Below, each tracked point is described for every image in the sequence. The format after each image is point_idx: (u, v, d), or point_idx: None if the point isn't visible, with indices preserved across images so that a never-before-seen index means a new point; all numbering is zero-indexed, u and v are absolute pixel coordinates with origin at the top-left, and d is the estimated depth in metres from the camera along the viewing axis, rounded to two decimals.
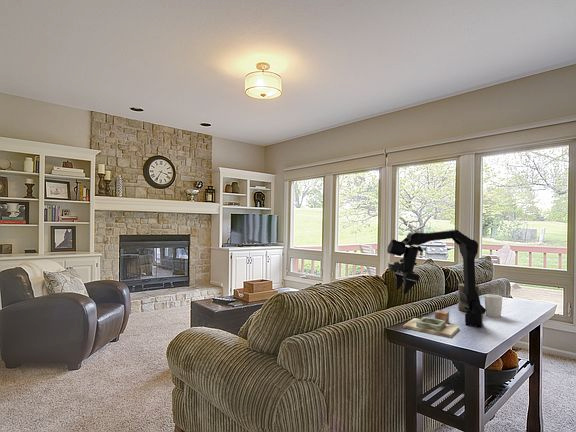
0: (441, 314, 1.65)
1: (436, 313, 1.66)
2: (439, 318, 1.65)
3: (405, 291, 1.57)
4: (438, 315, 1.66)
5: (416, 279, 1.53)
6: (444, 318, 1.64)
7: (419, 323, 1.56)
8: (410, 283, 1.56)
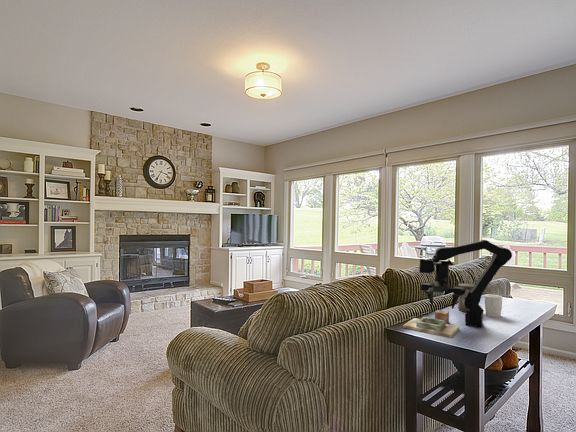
0: (441, 314, 1.65)
1: (436, 313, 1.66)
2: (439, 318, 1.65)
3: (453, 306, 1.64)
4: (438, 315, 1.66)
5: (464, 292, 1.62)
6: (444, 318, 1.64)
7: (419, 323, 1.56)
8: None
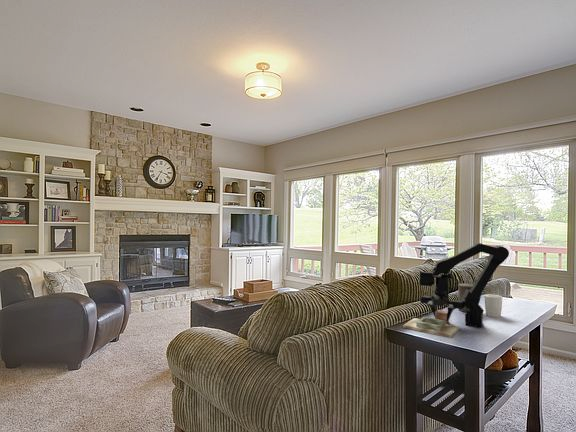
0: (441, 314, 1.65)
1: (436, 313, 1.66)
2: (439, 318, 1.65)
3: (449, 318, 1.65)
4: (438, 315, 1.66)
5: (464, 305, 1.63)
6: (444, 318, 1.64)
7: (419, 323, 1.56)
8: (451, 309, 1.65)
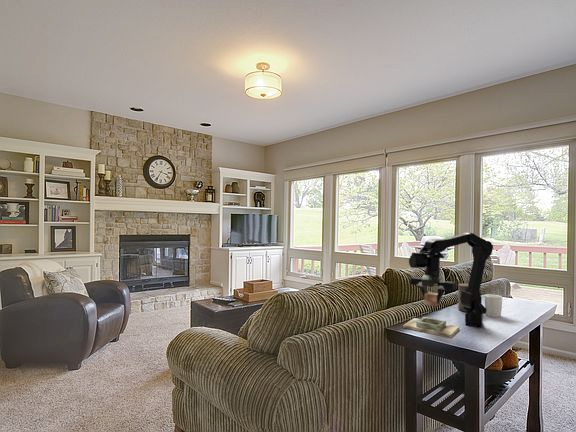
0: (431, 295, 1.57)
1: (426, 295, 1.58)
2: (429, 300, 1.57)
3: (439, 300, 1.57)
4: (428, 297, 1.58)
5: (455, 287, 1.54)
6: (434, 300, 1.56)
7: (419, 323, 1.56)
8: (442, 291, 1.57)
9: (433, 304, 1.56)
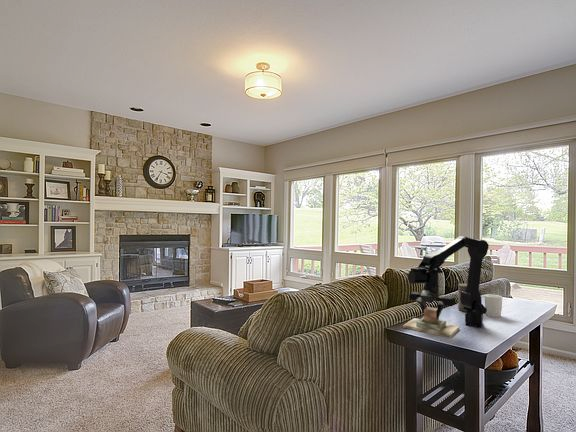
0: (430, 311, 1.55)
1: (425, 310, 1.57)
2: (428, 315, 1.56)
3: (438, 316, 1.56)
4: (427, 312, 1.56)
5: (454, 302, 1.53)
6: (434, 315, 1.55)
7: (419, 323, 1.56)
8: (441, 306, 1.56)
9: (433, 320, 1.55)
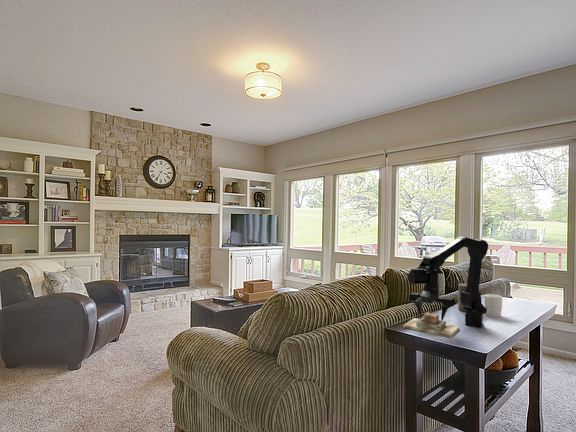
0: (430, 317, 1.55)
1: (425, 316, 1.57)
2: (428, 321, 1.56)
3: (443, 317, 1.54)
4: (427, 318, 1.56)
5: (454, 303, 1.53)
6: (434, 321, 1.55)
7: (419, 323, 1.56)
8: None
9: None
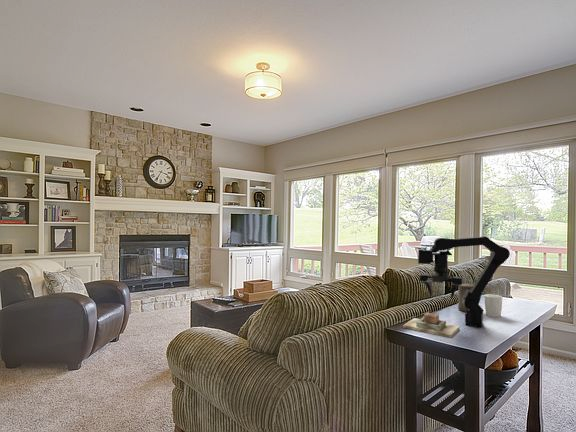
0: (430, 317, 1.55)
1: (425, 316, 1.57)
2: (428, 321, 1.56)
3: None
4: (427, 318, 1.56)
5: (463, 281, 1.63)
6: (434, 321, 1.55)
7: (419, 323, 1.56)
8: None
9: None
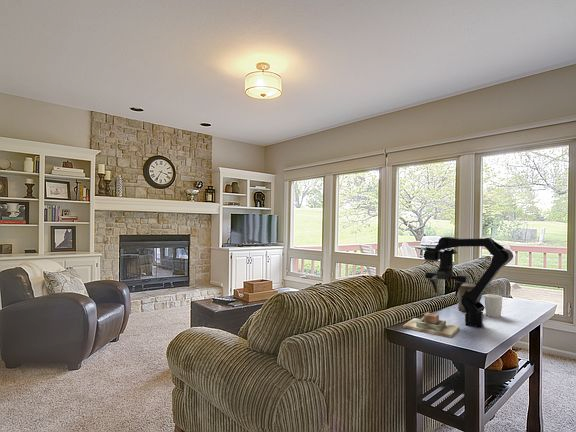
0: (430, 317, 1.55)
1: (425, 316, 1.57)
2: (428, 321, 1.56)
3: (457, 293, 1.69)
4: (427, 318, 1.56)
5: (467, 279, 1.68)
6: (434, 321, 1.55)
7: (419, 323, 1.56)
8: (459, 284, 1.70)
9: None
